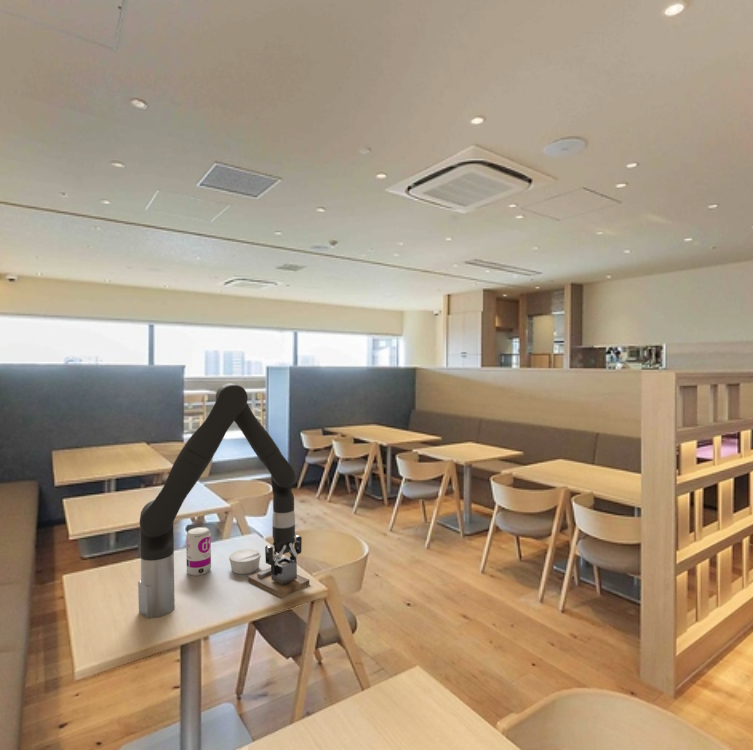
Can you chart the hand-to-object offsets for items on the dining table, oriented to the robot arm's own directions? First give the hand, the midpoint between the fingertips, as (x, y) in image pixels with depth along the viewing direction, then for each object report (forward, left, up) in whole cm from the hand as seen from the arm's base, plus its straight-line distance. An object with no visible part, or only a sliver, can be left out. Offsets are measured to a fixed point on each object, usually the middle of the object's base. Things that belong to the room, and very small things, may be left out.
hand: (284, 571), depth 162 cm
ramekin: (-1, +21, -5) cm, 22 cm away
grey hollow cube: (0, 0, -3) cm, 3 cm away
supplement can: (-13, +32, -5) cm, 35 cm away
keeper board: (0, +3, -5) cm, 6 cm away
